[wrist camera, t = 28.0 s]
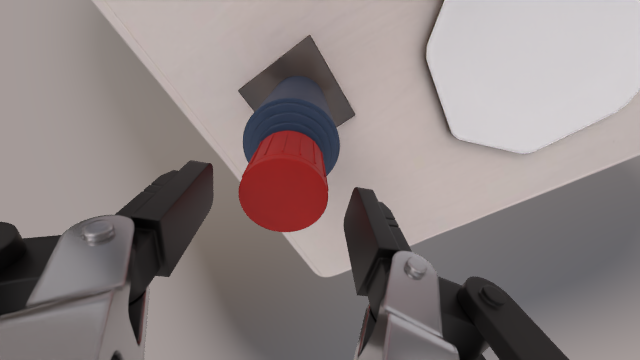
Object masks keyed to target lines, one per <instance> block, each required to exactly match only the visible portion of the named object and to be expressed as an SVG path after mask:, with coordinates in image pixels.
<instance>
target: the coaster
mask: <svg viewBox="0 0 640 360" xmlns="http://www.w3.org/2000/svg"><path fill="white" fill-rule="evenodd" d="M292 76H304V77H307V78H309V79H311V80H313V81H314V82H315V83H317V84H318V86H319V87H320V88H321V90H322V92H323V94H324V96H325V99H326V102H327V104H328V107H329V110H330V113H331V115H332V118H333V121H334V123H335V126H336V127H337V126H339V125H341V124H342V123H344V122H345V121H347V120H348V119H350V118H351V117H353V116H355V113H354V111H353V110H352V108H351V106H350V104H349V103H348V101H347V99H346V97H345V96H344V94H343V92H342V90H341V89H340V87H339V85H338V83H337V82H336V80H335V78H334V76H333V75H332V73H331V71H330V69H329V68H328V66H327V64H326V62H325V61H324V59H323V57H322V55H321V54H320V52H319V50H318V48H317V46H316V45H315V43H314V41H313V39H312V38H311V36H310V35H309V36H308V37H306V38H305V39H304V40H302V41H301V42H300V43H299V44H297V45H296V46H295V47H293V48H292V49H291V50H290V51H288V52H287V53H286V54H284V55H283V56H282V57H281V58H279V59H278V60H277V61H275V62H274V63H273V64H272V65H270V66H269V67H268V68H266V69H265V70H264V71H263V72H261V73H260V74H259V75H257V76H256V77H255V78H254V79H252V80H251V81H250V82H248V83H247V84H246V85H244V86H243V87H242V88H241V89H239V90H238V91H239V93H240V94H241V95H242V96H243V98H244V99H245V100H246V101H247V103H248V104H249V105H250V107H251V108H252V109H253V110H254V112H255V111H256V110H257V109H258V108H259V107H260V105H261V104H262V103H263V102H264V101H265V100H266V98H267V97H268V96H269V95H270V94H271V93H272V91H273V90H274V89H275V88H276V87H277V86H278V85H279V83H280V82H282V81H283V80H285V79H286V78H289V77H292Z"/></svg>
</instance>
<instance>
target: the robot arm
mask: <svg viewBox="0 0 640 360" xmlns="http://www.w3.org/2000/svg"><path fill="white" fill-rule="evenodd" d="M212 203H213V167H212V164H211V163H204V162H198V161H189V162H188V163H187V164H186V165H185V166H183V167H182V168H181V169H180V170H179V171H176V170H173V171H171V172H168V173H166V174H164V175H161V176H160V177H158V178H157V179H156V180H155V181H154V182H153V183H152V184H151V185H149V186H148V187H147V188H146V189H144V192H141V193H140V194H139V195H137V196H136V197H135V198H134V199H133V200H131V201H130V202H129V203H128V204H127V205H126V206H124V208H122V209H121V210H120V211H119V212H117V213H116V214H115V215H104V216H98V217H93V218H90V219H87V220H84V221H82V222H80V223H77V224H75V225H74V226H72V227H70V228H69V229H68V230H66V231H65V232H64V233H63V234H62V235H58V236H47V237H35V238H24V239H22V237H21V235H20V234H19V232H18V230H17V229H16V227H15V226H14V225H12V224H9V223H5V222H0V360H144V348H145V337H146V326H147V315H148V302H149V286H148V285H149V284H150V282H151V281H152V280H153V278H154V277H155V276H164V277H169V276H170V274H171V273H172V271H173V270H174V268H175V266H176V264H177V263H178V261H179V260H180V258H181V257H182V255H183V253H184V251H185V250H186V248H187V247H188V245H189V244H190V242H191V240H192V238H193V237H194V235H195V234H196V232H197V231H198V229H199V227H200V226H201V224H202V222H203V221H204V219H205V218H206V216H207V214H208V213H209V211H210V209H211V206H212ZM344 232H345V237H346V242H347V247H348V252H349V257H350V262H351V267H352V272H353V277H354V282H355V287H356V292H357V295H362V296H368V299H369V305H368V307H367V309H366V313H365V317H364V320H363V324H362V328H361V332H360V336H359V340H358V344H357V348H356V353H355V356H354V360H486V359H485V358H484V356H483V355H482V353H483V352H484V351H485V350H486V349H487V348H488V347H491V348H492V350H493V351H494V353H495V354H496V355H497V357H498V358H499V360H569V359H568V358H567V357H566V356H565V355H564V354H563V352H562V351H561V350H560V349H559V348H558V347H557V346H556V345H555V344H554V343H553V342H552V341H551V340H550V339H549V338H548V337H547V336H546V334H545V333H544V332H543V331H542V330H541V329H540V328H539V327H538V326H537V325H536V324H535V323H534V322H533V321H532V320H531V318H529V316H528V315H527V314H526V313H525V312H524V311H523V310H522V309H521V308H520V307H519V306H518V305H517V303H516V302H515V301H514V300H513V299H512V298H511V297H510V296H509V295H508V294H507V293H506V292H505V291H504V290H502V289H501V288H500V287H498V286H497V285H495V284H494V283H492V282H490V281H488V280H486V279H484V278H480V277H470V278H468V279H467V280H466V282H465V283H464V284H463V285H459V284H457V283H454V282H451V281H449V280H446V279H443V278H441V277H438V275H437V272H436V270H435V269H434V267H433V266H432V265H431V264H430V263H429V262H428V261H427V260H425V259H424V258H423V257H421V256H420V255H418V254H416V253H413V252H412V251H411V249H410V247H409V245H408V243H407V241H406V239H405V237H404V235H403V234H402V232H401V230H400V228H398V224H397V222H396V221H395V218H394V216H393V214H392V212H391V210H390V209H389V208H388V207H387V206H386V205H385V204H383V203H382V202H378V200H377V198H376V196H375V193H374V191H373V190H371V189H364V188H358V187H355V188H354V190H353V192H352V196H351V199H350V202H349V205H348V208H347V211H346V214H345V218H344Z"/></svg>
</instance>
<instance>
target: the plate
mask: <svg viewBox="0 0 640 360" xmlns="http://www.w3.org/2000/svg"><path fill="white" fill-rule="evenodd" d="M425 59H426V62H427V65H428V68H429V71H430V74H431V77H432V80H433V82H434V85H435V88H436V91H437V94H438V97H439V100H440V103H441V106H442V109H443V112H444V115H445V117H446V120H447V123H448V126H449V129H450V132H451V134H452V135H453V136H455V137H456V138H457V139H458V140H463V141H467V142H471V143H476V144H480V145H485V146H489V147H493V148H498V149H502V150H507V151H511V152H515V153H520V154H527V153H533V152H535V151H537V150H539V149H541V148H543V147H546V146H548V145H550V144H552V143H554V142H556V141H558V140H560V139H562V138H564V137H566V136H568V135H570V134H573V133H575V132H577V131H579V130H581V129H583V128H585V127H587V126H589V125H591V124H593V123H595V122H597V121H600V120H602V119H604V118H606V117H608V116H610V115H612V114H614V113H616V112H618V111H619V110H620V109H621V108H623V107H624V106H625V105H627V104H628V103H629V102H630V101H631V100H632V98H633V97H634V96H635V95H636V94H637V92H638V91H639V90H640V0H444V1H443V3H442V6H441V8H440V11H439V13H438V16H437V19H436V21H435V24H434V26H433V29H432V31H431V34H430V36H429V39H428V42H427V44H426V57H425Z"/></svg>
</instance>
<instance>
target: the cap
mask: <svg viewBox="0 0 640 360" xmlns="http://www.w3.org/2000/svg"><path fill="white" fill-rule="evenodd" d="M239 200H240V203H241V206H242V208H243V210H244V211H245V213H246V215H247V216H248V217H249V218H250V219H251V220H252V221H254V222H255V223H256V224H258V225H260V226H262V227H264V228H266V229H269V230H272V231H278V232H293V231H298V230H301V229H304V228H306V227H309V226H310V225H312V224H313V223H315V222H316V221H317V220H318V219H319V218H320V217H321V215H322V214H323V213H324V211H325V209H326V206H327V202H328V184H327V177H326V170H325V164H324V160H323V154H322V152H321V150H320V148H319V147H318V145H317V144H316V143H315V141H313V140H312V139H311V138H310V137H308V136H306V135H305V134H303V133H300V132H296V131H288V130H287V131H279V132H276V133H272V134H271V135H270V136H268V137H267V138H265V139H264V140H263V141H261V142H260V144H259V146H258V148H257V150H256V152H254V154H253V156H252V158H251V160H250V162H249V164H248V166H247V168H246V170H245V172H244V174H243V175H242V180H241V182H240V186H239Z"/></svg>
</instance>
